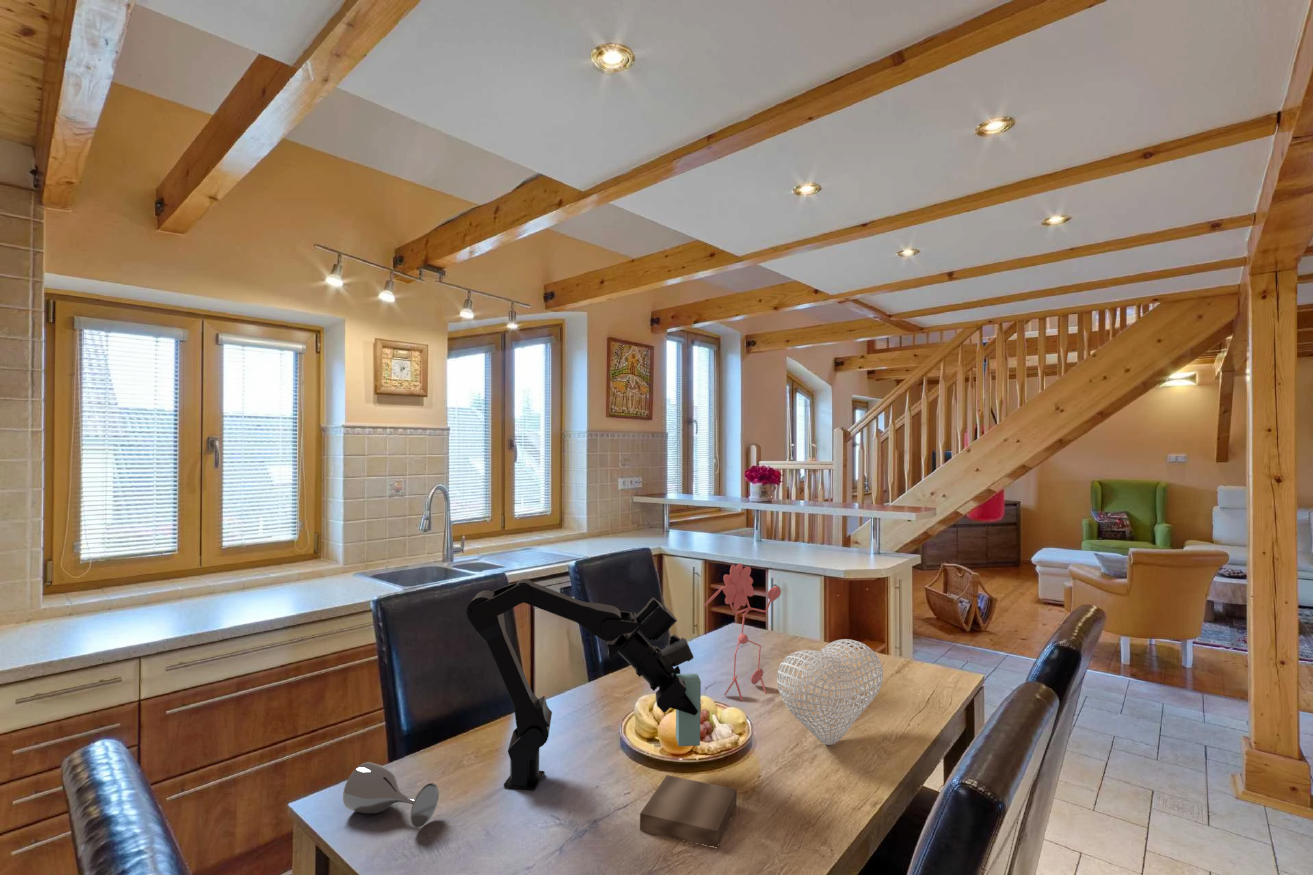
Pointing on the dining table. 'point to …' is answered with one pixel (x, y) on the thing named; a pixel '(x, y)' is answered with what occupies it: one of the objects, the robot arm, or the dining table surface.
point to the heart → (827, 655)
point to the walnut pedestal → (689, 811)
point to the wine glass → (386, 794)
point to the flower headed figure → (737, 593)
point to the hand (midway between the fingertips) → (694, 708)
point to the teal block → (687, 722)
